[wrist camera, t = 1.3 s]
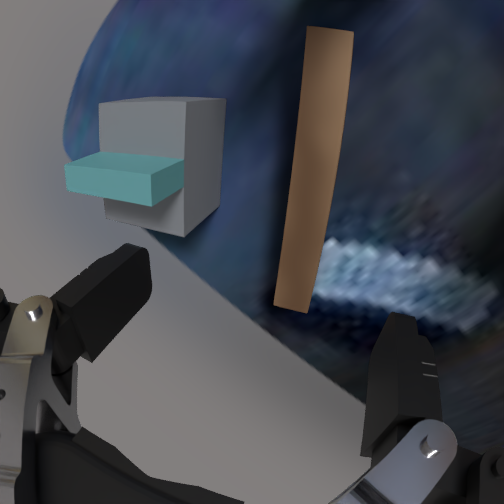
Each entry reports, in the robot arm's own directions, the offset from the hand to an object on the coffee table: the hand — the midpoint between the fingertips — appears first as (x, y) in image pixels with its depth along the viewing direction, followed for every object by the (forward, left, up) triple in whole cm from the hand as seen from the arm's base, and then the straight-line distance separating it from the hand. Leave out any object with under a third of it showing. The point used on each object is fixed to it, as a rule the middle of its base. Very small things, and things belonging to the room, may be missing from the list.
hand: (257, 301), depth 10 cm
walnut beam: (0, 0, -18) cm, 18 cm away
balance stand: (+13, 0, -18) cm, 22 cm away
